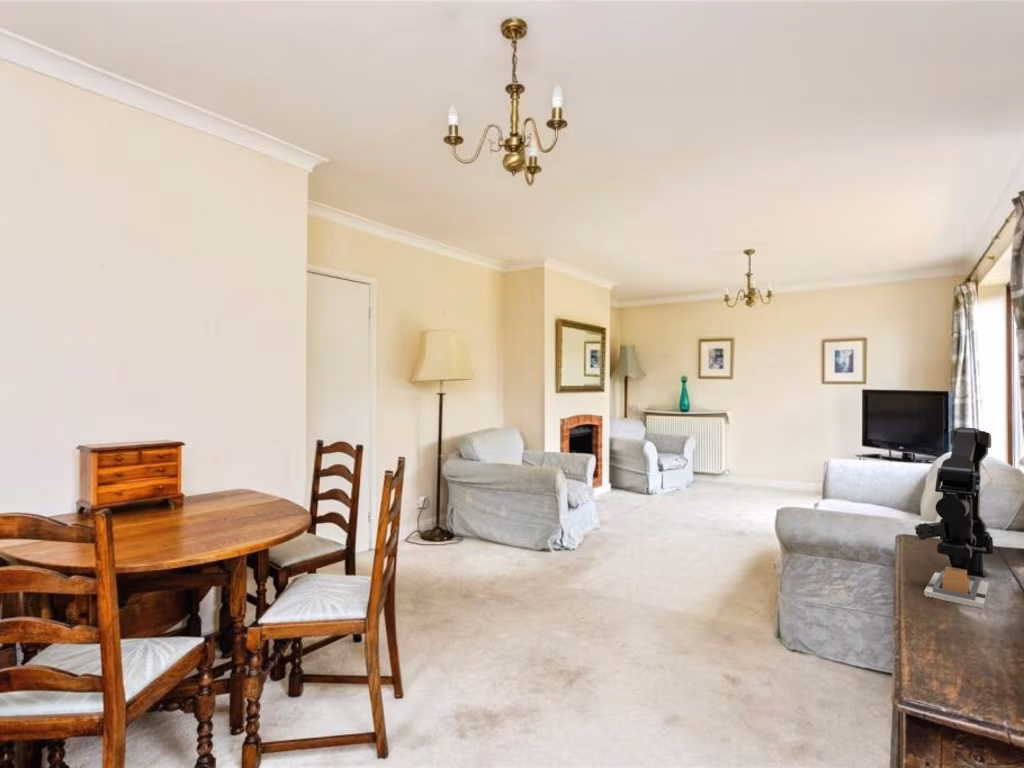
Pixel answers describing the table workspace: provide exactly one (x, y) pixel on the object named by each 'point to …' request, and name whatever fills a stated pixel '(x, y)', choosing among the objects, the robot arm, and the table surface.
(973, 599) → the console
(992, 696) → the table surface
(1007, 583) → the table surface
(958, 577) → the fader knob
